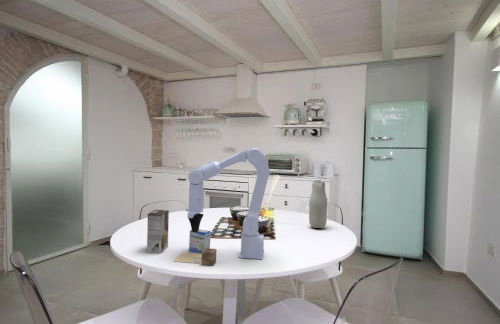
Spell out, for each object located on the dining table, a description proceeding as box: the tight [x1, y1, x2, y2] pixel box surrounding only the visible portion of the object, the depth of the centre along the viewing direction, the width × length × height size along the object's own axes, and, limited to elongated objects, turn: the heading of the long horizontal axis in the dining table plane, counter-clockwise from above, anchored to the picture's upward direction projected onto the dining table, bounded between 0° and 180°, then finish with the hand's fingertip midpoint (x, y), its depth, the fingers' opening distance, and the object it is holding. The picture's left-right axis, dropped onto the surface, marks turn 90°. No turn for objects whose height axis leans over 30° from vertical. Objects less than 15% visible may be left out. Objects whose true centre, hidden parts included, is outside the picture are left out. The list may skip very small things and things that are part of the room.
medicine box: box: [188, 228, 212, 254], centre depth 128 cm, size 8×4×9 cm, turn 70°
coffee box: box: [146, 209, 170, 254], centre depth 128 cm, size 9×6×16 cm
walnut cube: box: [200, 248, 217, 267], centre depth 114 cm, size 4×4×5 cm
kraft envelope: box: [172, 252, 202, 264], centre depth 119 cm, size 10×10×1 cm
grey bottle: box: [308, 179, 328, 229], centre depth 175 cm, size 10×10×28 cm
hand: (195, 232), depth 124 cm, fingers closed
